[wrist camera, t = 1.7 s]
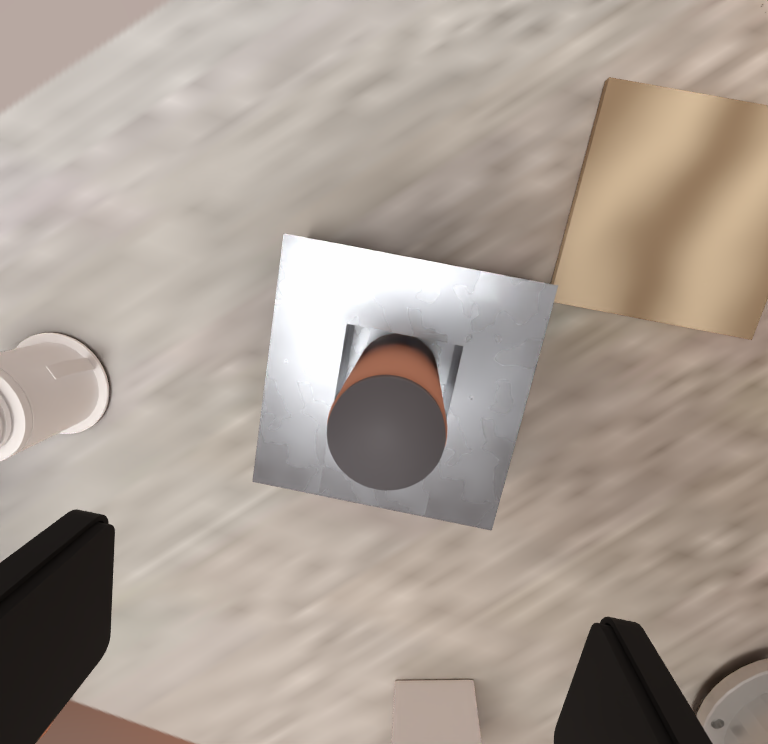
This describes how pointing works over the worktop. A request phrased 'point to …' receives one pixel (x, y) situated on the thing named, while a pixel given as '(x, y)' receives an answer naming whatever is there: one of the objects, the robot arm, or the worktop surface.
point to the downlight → (48, 391)
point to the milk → (435, 712)
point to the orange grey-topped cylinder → (389, 415)
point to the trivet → (671, 211)
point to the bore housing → (413, 318)
